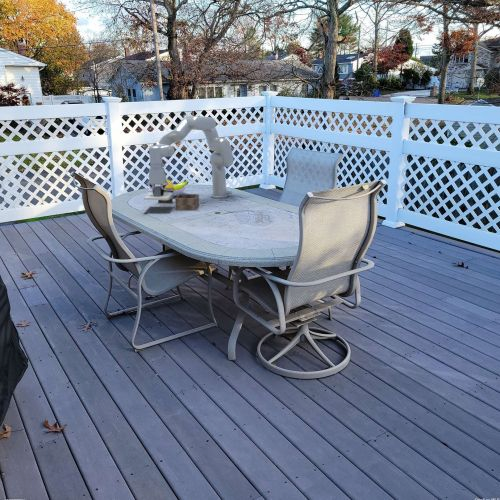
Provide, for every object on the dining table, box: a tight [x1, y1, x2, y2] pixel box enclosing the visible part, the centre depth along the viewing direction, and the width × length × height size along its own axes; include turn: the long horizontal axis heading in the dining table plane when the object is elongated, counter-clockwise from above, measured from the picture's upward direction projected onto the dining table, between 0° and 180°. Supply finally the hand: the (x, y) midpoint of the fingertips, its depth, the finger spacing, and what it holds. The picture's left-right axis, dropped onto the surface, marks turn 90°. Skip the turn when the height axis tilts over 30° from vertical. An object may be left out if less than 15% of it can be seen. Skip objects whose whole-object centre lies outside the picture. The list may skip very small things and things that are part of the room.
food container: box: [157, 188, 174, 204], centre depth 327 cm, size 12×6×10 cm, turn 84°
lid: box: [143, 186, 173, 201], centre depth 305 cm, size 15×15×6 cm
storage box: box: [174, 193, 200, 211], centre depth 313 cm, size 13×13×8 cm
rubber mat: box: [143, 206, 175, 215], centre depth 309 cm, size 16×16×1 cm
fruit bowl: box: [147, 178, 189, 198], centre depth 347 cm, size 28×27×11 cm
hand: (158, 194), depth 305 cm, fingers closed on lid, 4 cm apart
